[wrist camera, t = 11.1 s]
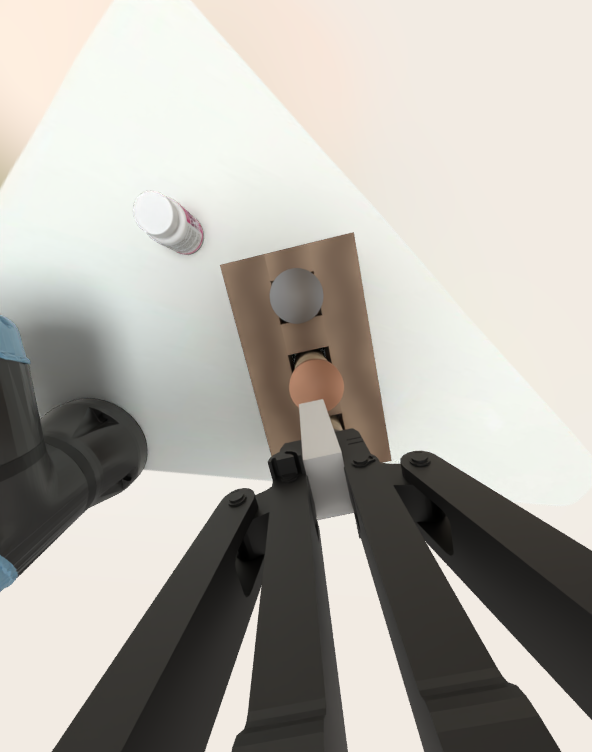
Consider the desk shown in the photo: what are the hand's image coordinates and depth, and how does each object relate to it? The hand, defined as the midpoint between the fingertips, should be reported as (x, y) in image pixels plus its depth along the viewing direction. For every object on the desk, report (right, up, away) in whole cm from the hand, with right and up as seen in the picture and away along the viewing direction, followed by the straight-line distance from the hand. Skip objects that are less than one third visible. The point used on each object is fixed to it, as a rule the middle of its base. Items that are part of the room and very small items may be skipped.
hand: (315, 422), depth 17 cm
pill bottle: (-15, +21, +19) cm, 32 cm away
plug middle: (+1, +5, +19) cm, 20 cm away
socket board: (+1, +5, +22) cm, 23 cm away
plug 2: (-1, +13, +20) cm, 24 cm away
